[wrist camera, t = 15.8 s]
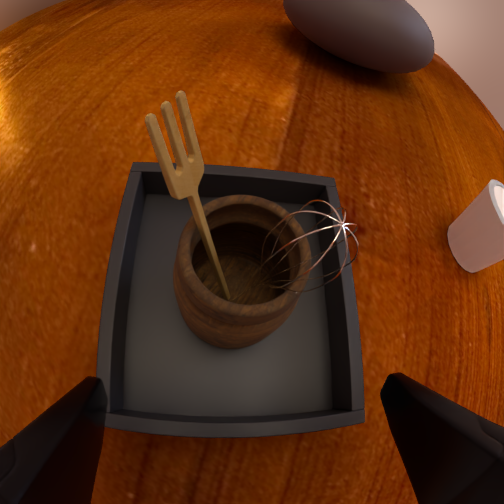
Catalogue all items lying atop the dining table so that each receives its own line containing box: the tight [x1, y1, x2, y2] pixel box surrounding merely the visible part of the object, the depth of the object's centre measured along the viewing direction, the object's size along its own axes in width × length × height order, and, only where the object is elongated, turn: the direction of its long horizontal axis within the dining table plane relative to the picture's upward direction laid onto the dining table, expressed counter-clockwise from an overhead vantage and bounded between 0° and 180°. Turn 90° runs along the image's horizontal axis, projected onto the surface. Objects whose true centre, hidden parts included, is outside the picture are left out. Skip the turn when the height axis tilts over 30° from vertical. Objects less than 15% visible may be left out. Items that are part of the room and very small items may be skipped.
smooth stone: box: [283, 0, 434, 73], centre depth 31 cm, size 25×25×15 cm
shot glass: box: [447, 180, 504, 273], centre depth 20 cm, size 7×7×7 cm
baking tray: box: [96, 162, 365, 438], centre depth 16 cm, size 16×14×3 cm
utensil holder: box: [145, 91, 359, 349], centre depth 12 cm, size 6×6×12 cm
